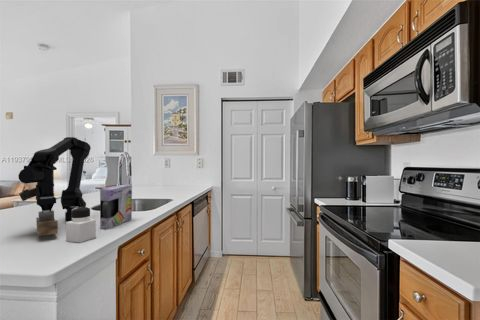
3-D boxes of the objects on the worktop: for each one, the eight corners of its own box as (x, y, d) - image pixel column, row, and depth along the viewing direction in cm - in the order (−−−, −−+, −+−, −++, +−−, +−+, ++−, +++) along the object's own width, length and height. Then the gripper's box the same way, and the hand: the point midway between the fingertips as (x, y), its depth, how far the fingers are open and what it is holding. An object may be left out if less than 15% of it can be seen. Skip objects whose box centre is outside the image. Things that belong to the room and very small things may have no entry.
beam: (53, 227, 122) (53, 211, 122) (57, 239, 104) (57, 220, 104) (36, 229, 118) (36, 213, 118) (38, 242, 100) (37, 223, 100)
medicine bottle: (96, 237, 106) (96, 206, 106) (80, 243, 99) (79, 210, 99) (82, 236, 108) (82, 205, 108) (65, 241, 101) (65, 209, 101)
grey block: (53, 222, 114) (53, 208, 114) (54, 224, 111) (54, 210, 111) (38, 224, 111) (38, 210, 111) (38, 226, 108) (38, 211, 108)
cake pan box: (108, 230, 117) (107, 188, 117) (97, 229, 118) (97, 188, 118) (132, 219, 136) (132, 184, 136) (123, 219, 137) (123, 184, 137)
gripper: (21, 180, 116) (21, 217, 116) (20, 184, 102) (20, 226, 102) (52, 179, 123) (52, 214, 123) (56, 182, 108) (56, 221, 108)
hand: (45, 218), depth 114 cm, fingers closed
